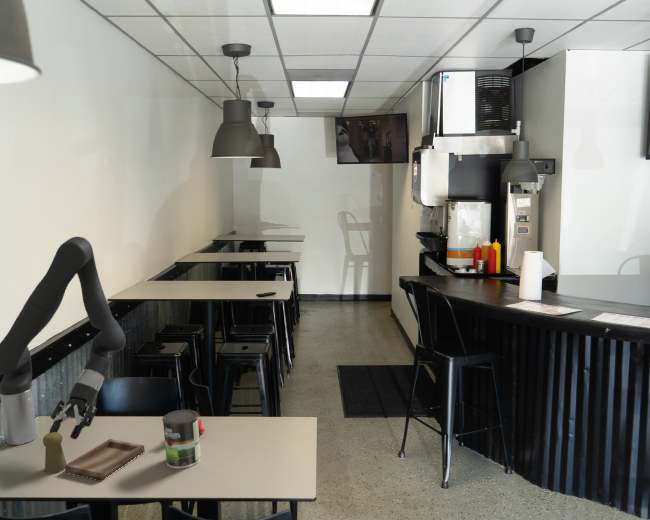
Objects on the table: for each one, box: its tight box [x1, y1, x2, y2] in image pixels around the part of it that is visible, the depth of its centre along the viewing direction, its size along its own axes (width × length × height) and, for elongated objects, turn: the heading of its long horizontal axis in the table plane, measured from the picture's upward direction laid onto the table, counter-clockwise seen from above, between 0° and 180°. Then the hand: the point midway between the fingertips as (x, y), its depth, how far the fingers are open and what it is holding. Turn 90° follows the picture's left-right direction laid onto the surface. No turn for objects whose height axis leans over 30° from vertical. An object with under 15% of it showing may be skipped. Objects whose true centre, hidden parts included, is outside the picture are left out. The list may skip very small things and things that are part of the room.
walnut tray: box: [64, 438, 145, 482], centre depth 178 cm, size 14×18×2 cm
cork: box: [42, 431, 67, 475], centre depth 175 cm, size 6×6×11 cm
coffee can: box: [161, 409, 202, 470], centre depth 177 cm, size 10×10×14 cm
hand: (62, 436), depth 178 cm, fingers open, 8 cm apart
